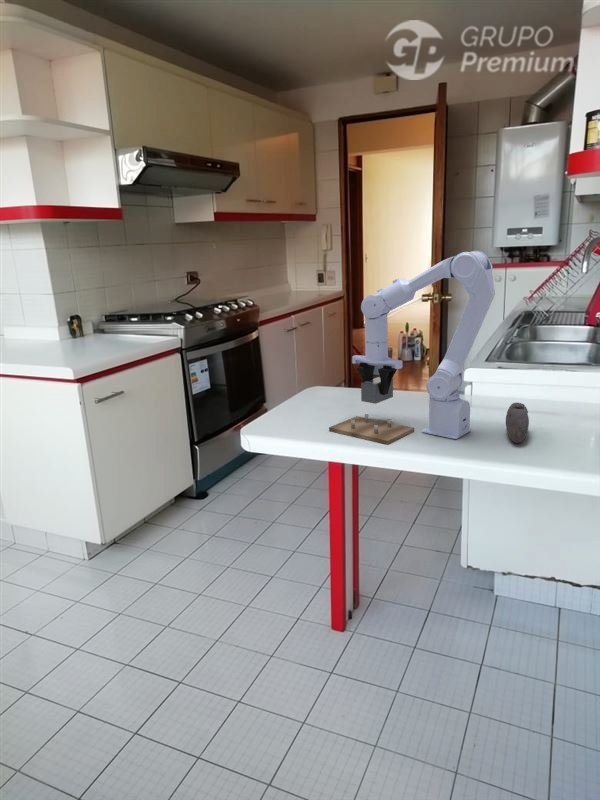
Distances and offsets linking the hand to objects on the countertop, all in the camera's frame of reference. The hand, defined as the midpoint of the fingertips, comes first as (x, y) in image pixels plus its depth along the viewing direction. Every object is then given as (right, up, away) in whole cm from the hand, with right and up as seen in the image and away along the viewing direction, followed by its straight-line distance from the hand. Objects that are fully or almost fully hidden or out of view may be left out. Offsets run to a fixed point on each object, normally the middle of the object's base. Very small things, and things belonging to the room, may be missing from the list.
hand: (376, 392), depth 148 cm
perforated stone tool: (+32, -11, -13) cm, 36 cm away
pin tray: (-2, -10, -4) cm, 11 cm away
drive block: (0, -2, +1) cm, 2 cm away
